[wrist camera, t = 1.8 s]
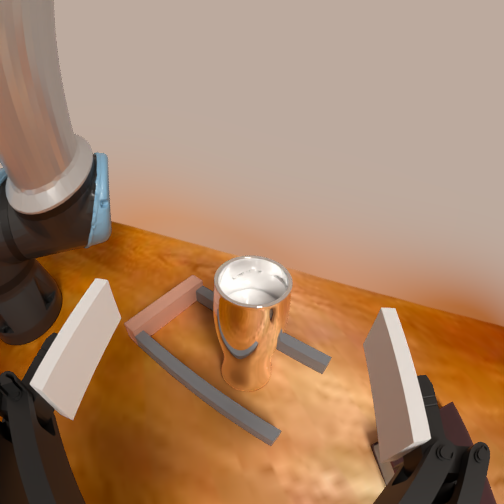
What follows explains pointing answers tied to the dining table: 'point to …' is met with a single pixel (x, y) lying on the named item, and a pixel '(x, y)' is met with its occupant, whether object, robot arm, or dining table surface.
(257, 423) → the guide channel
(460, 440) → the book
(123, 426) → the dining table surface
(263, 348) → the shiny metal tumbler
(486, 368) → the dining table surface
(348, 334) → the dining table surface
